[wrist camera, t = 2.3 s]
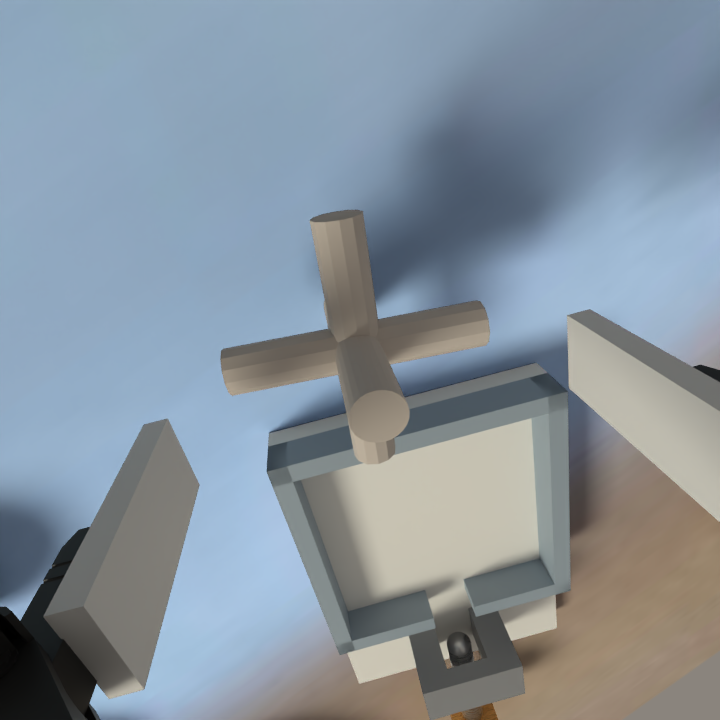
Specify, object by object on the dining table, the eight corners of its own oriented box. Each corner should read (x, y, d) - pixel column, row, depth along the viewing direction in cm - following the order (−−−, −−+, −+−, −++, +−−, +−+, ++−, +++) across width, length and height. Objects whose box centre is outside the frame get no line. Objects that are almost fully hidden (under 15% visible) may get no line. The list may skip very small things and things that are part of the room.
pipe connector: (435, 177, 21) (549, 212, 12) (449, 374, 25) (538, 507, 16) (208, 217, 20) (147, 285, 11) (264, 411, 25) (251, 570, 16)
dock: (268, 433, 25) (264, 507, 20) (536, 362, 26) (596, 418, 21) (357, 667, 35) (368, 755, 30) (548, 613, 36) (591, 691, 31)
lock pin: (428, 623, 33) (447, 689, 29) (471, 611, 33) (496, 675, 29) (448, 707, 38) (466, 773, 34) (486, 697, 38) (508, 761, 34)
